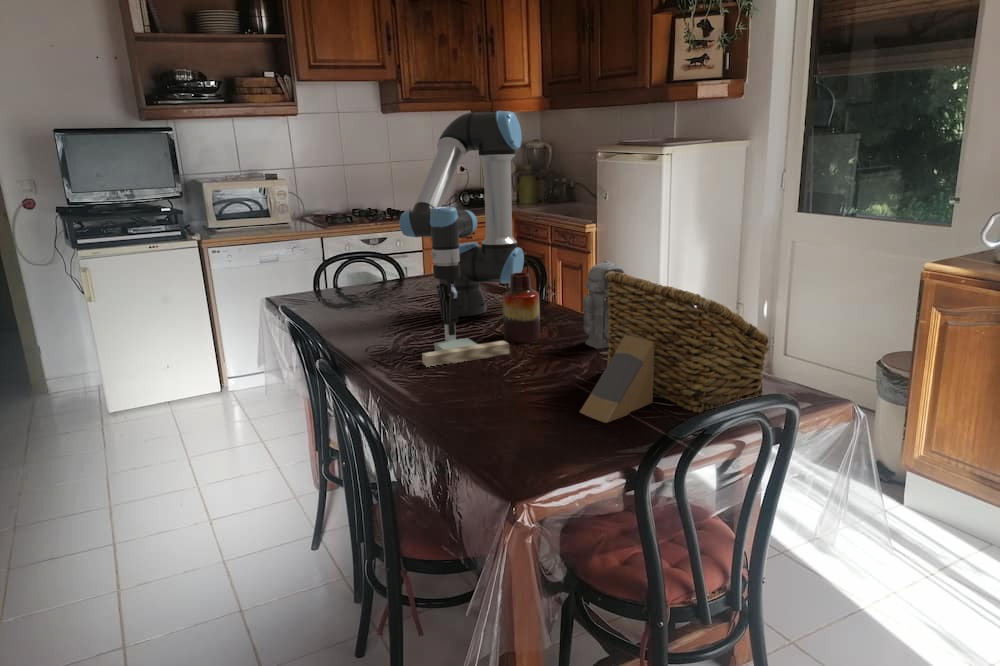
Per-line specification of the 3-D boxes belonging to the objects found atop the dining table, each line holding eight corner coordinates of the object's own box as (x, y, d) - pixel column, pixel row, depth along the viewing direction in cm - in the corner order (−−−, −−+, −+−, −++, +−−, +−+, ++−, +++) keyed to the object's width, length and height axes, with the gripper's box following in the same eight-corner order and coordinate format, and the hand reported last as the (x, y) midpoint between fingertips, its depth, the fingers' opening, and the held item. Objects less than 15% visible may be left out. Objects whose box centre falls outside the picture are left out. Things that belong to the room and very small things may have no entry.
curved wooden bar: (504, 354, 201) (503, 340, 200) (509, 357, 197) (509, 343, 196) (422, 367, 191) (421, 353, 190) (427, 371, 188) (426, 356, 187)
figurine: (635, 346, 203) (636, 259, 197) (595, 354, 197) (594, 265, 190) (614, 338, 212) (614, 255, 205) (574, 347, 205) (573, 260, 198)
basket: (786, 396, 161) (794, 278, 154) (697, 419, 150) (702, 293, 143) (678, 357, 192) (681, 258, 185) (599, 374, 181) (599, 269, 174)
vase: (547, 340, 213) (546, 272, 208) (523, 348, 205) (521, 278, 200) (520, 334, 220) (518, 269, 215) (496, 342, 212) (493, 275, 207)
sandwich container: (576, 413, 156) (576, 347, 152) (624, 396, 165) (624, 333, 161) (605, 424, 149) (605, 355, 145) (653, 406, 158) (654, 341, 154)
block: (468, 351, 206) (467, 337, 205) (478, 358, 199) (477, 344, 198) (435, 356, 202) (434, 342, 201) (444, 363, 195) (443, 349, 194)
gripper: (426, 261, 203) (431, 341, 209) (441, 268, 191) (446, 352, 197) (451, 259, 206) (455, 338, 212) (467, 265, 194) (471, 348, 200)
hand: (451, 345), depth 204 cm, fingers closed
